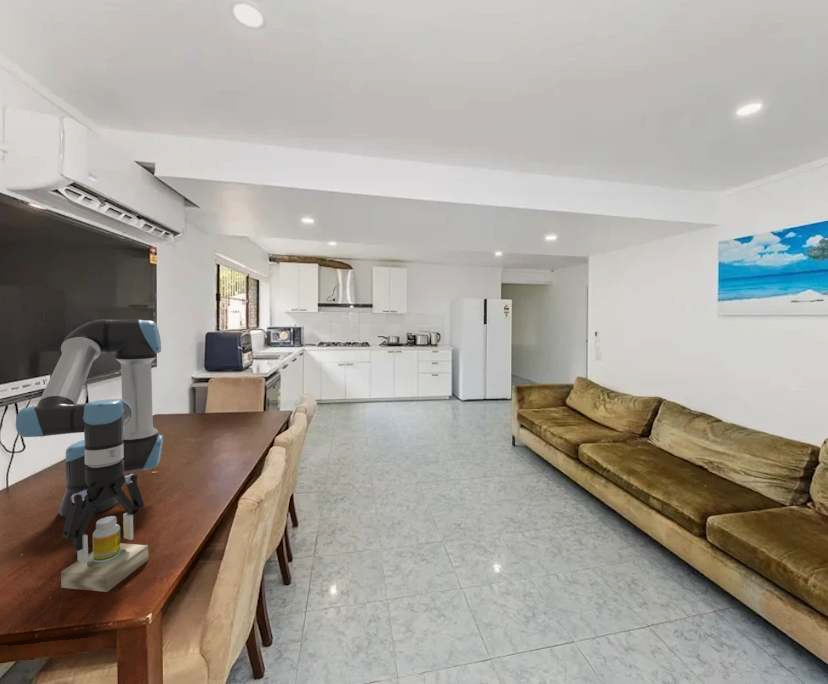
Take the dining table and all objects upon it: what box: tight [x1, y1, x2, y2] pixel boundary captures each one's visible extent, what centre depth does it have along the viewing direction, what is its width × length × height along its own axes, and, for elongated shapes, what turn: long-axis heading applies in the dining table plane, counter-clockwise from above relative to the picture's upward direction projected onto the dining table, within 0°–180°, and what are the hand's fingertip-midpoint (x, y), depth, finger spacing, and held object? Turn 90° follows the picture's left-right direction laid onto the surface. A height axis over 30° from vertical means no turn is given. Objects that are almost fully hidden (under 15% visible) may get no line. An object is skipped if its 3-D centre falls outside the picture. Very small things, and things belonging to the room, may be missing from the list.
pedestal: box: [60, 542, 149, 593], centre depth 93 cm, size 12×12×4 cm
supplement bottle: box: [92, 515, 121, 563], centre depth 93 cm, size 5×5×10 cm
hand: (106, 548), depth 93 cm, fingers open, 9 cm apart
